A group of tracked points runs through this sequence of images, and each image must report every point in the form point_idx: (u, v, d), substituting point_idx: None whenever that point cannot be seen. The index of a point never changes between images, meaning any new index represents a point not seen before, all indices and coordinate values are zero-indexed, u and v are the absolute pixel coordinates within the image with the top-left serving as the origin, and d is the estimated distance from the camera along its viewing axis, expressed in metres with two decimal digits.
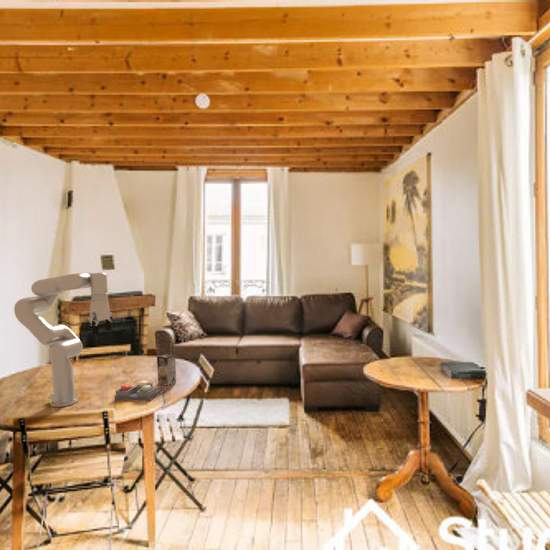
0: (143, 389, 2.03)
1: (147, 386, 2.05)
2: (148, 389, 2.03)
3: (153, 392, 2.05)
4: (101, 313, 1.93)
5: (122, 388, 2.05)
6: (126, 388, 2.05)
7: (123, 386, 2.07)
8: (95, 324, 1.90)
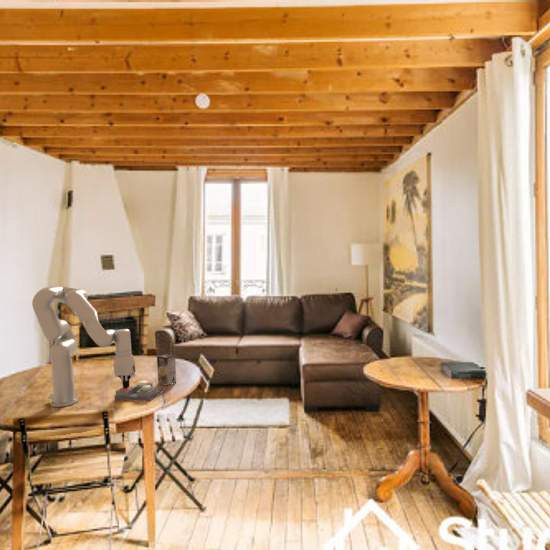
0: (143, 389, 2.03)
1: (147, 386, 2.05)
2: (148, 389, 2.03)
3: (153, 392, 2.05)
4: None
5: (122, 390, 2.05)
6: (126, 390, 2.05)
7: (123, 388, 2.07)
8: None
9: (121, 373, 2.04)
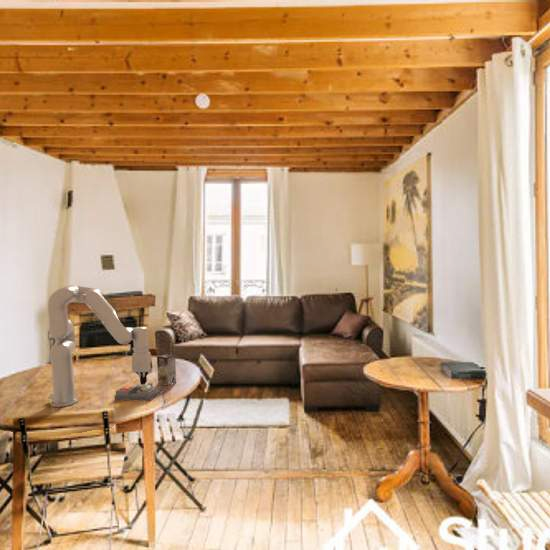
0: (143, 389, 2.03)
1: (147, 386, 2.05)
2: (148, 389, 2.03)
3: (153, 392, 2.05)
4: None
5: (122, 390, 2.05)
6: (126, 390, 2.05)
7: (123, 388, 2.07)
8: None
9: (139, 369, 2.10)
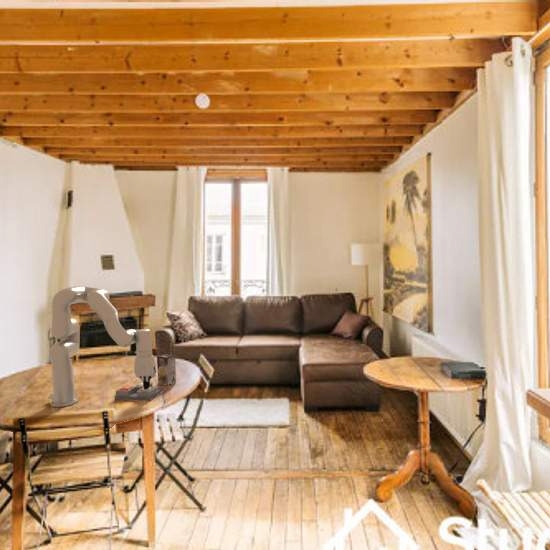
0: None
1: None
2: None
3: (153, 392, 2.05)
4: None
5: (122, 390, 2.05)
6: (126, 390, 2.05)
7: (123, 388, 2.07)
8: (150, 379, 2.05)
9: (142, 374, 2.02)
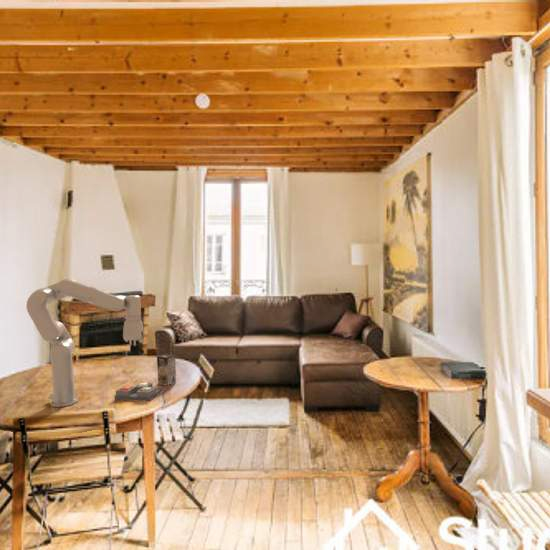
0: None
1: (147, 388, 2.05)
2: None
3: (153, 392, 2.05)
4: None
5: (122, 390, 2.05)
6: (126, 390, 2.05)
7: (123, 388, 2.07)
8: None
9: (130, 338, 2.09)
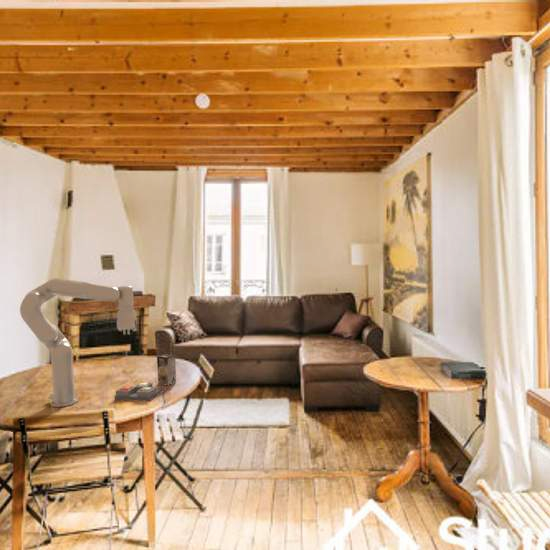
0: None
1: (147, 388, 2.05)
2: None
3: (153, 392, 2.05)
4: None
5: (122, 390, 2.05)
6: (126, 390, 2.05)
7: (123, 388, 2.07)
8: None
9: (124, 327, 2.15)
